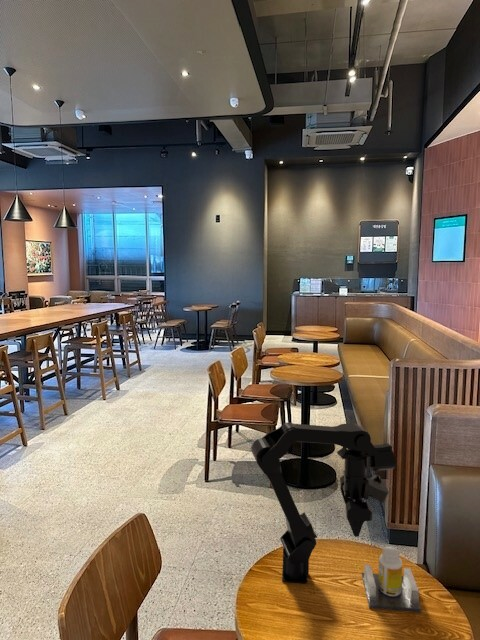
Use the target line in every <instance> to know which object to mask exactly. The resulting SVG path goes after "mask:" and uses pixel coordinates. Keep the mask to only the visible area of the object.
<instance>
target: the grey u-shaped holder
mask: <svg viewBox="0 0 480 640" xmlns="http://www.w3.org/2000/svg"><path fill="white" fill-rule="evenodd" d="M363 567H364V569H363V571H364V572H362V574H361V578H362V582H363V586H364V591H365V594H366V600H367V604H368V608H369V609H374V610H385V611H386V610H387V611H393V612H395V611H397V612H404V613H405V612H407V613H418V614H421V613H422V607H421V605H420V601H419V597H420V596H419V594H420V591H419V588H418V585H417V582H416V580H415V577H414V575H413V573H412V569H411V568H410V567H403V575H402V589H401V593H400V594H399V595H398V596H388V595H386V594H384V593H383V592H381V590H380V589H379V586H378V579H379V573H373V571H372V566H371V564H364V566H363Z"/></svg>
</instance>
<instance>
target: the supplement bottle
mask: <svg viewBox="0 0 480 640" xmlns="http://www.w3.org/2000/svg"><path fill="white" fill-rule="evenodd" d="M378 574H379V579H378V586H379V589H380V590H381V592H383V593H384V594H386V595H388V596H398V595H399V594H400V593H401V589H402V576H403V560H402V559H401V558H400V551H399V550H398V549H396V548H394V547H392V546H385V547H383V549H382V553H381V555H379V558H378Z"/></svg>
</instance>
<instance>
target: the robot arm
mask: <svg viewBox="0 0 480 640" xmlns="http://www.w3.org/2000/svg"><path fill="white" fill-rule="evenodd" d="M371 438H372V437H371V435H370V434H369V432H367V430H366V429H364V428H363V427H361V425H359V424H357V423H355V422H348V423H340V424H338V425H336V426H328V425H313V424H302V423H293V422H290V421H289V422H285V423H283V424H282V425H280V426H279V427H277V428H275V429H274V430H272V431H269V432H268V433H266V434H265V435H264V436H263V437H260V438H258V439H256V440H255V441H254V442H253V443H252V445H251V447H250V448H251V454H252V455H253V457H254V460H255V461H256V463H257V465H258V467H259V468H260V470H261V471H262V472H263V474H264V475H265V476H266V477H267V479H268V481H269V483H270V485H271V487H272V490H273V492H274V495H275V497H276V498H277V501H278V503H279V505H280V508H281V509H282V513H283V514H284V516H285V522H286V528H287V530H286V531H285V532H284V533H283V534H282V535H281V536H280V538H279V539H280V541H281V544H282V546H283V549H282V569H281V570H282V571H281V572H282V574H281V575H282V576H281V579H282V580H281V581H282V582H283V583H285V582H286V583H296V584H297V583H298V584H307V583H308V577H309V575H310V574H309V573H310V572H309V569H310V568H309V567H310V564H309V562H310V558H311V556H312V555H311V554H312V552H313V551H314V549H315V547H316V546H317V538H318V535H317V534H316V532H315V530H314V528H313V525H312V522H311V521H310V519H309V518H308V515H307V514H306V512H303V513H301V514H300V512H299V510H298V508H297V505H296V503H295V500H294V498H293V496H292V494H291V492H290V490H289V488H288V485H287V482H286V481H285V479H284V475H283V473H282V467H281V466H282V465H281V459H282V458H283V457H285V455H286V454H287V452H288V451H289V450H290V449H291V447H292V446H293V445H294V444H295V443H296V442H298V443H310V444H311V443H312V444H326V445H336V446H340V447H342V448H340V449H339V450H337V452H336V454H337V455H338V456H339V457H340V458H341V459H342V460H344V469H343V471H342V472H343V475H341V477H339V487H340V493H341V495H342V498H343V501H344V504H345V505H344V506H345V516H346V517H345V518H346V519H347V522H348V524H349V526H350V529H351V531H352V535H353V537H359V536H360V533H361V531H362V528H363V525H364V524H365V522H371V521H373V510H372V507H371V505H370V503H369V502H367V501H364V500H369V497H370V498H372V499H374V500H377V501H379V502H380V503H382V504H383V503H385V502H386V499H387V497H388V495H389V493H390V492H389V489H388V487H387V485H386V484H385V482H382V479H381V476H380V475H378V474H373V475H372V476H371V477H369V478H368V476H367V469H368V468H369V469H370V470H371V471H372V472H376V471H377V472H378V471H388V470H389V471H390V470H394V469H395V468H396V466H397V460H396V456H395V454H394V452H393V446H392V445H391V444H389V443H383V444H373V443H372V442H371ZM363 499H364V500H363Z"/></svg>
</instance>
